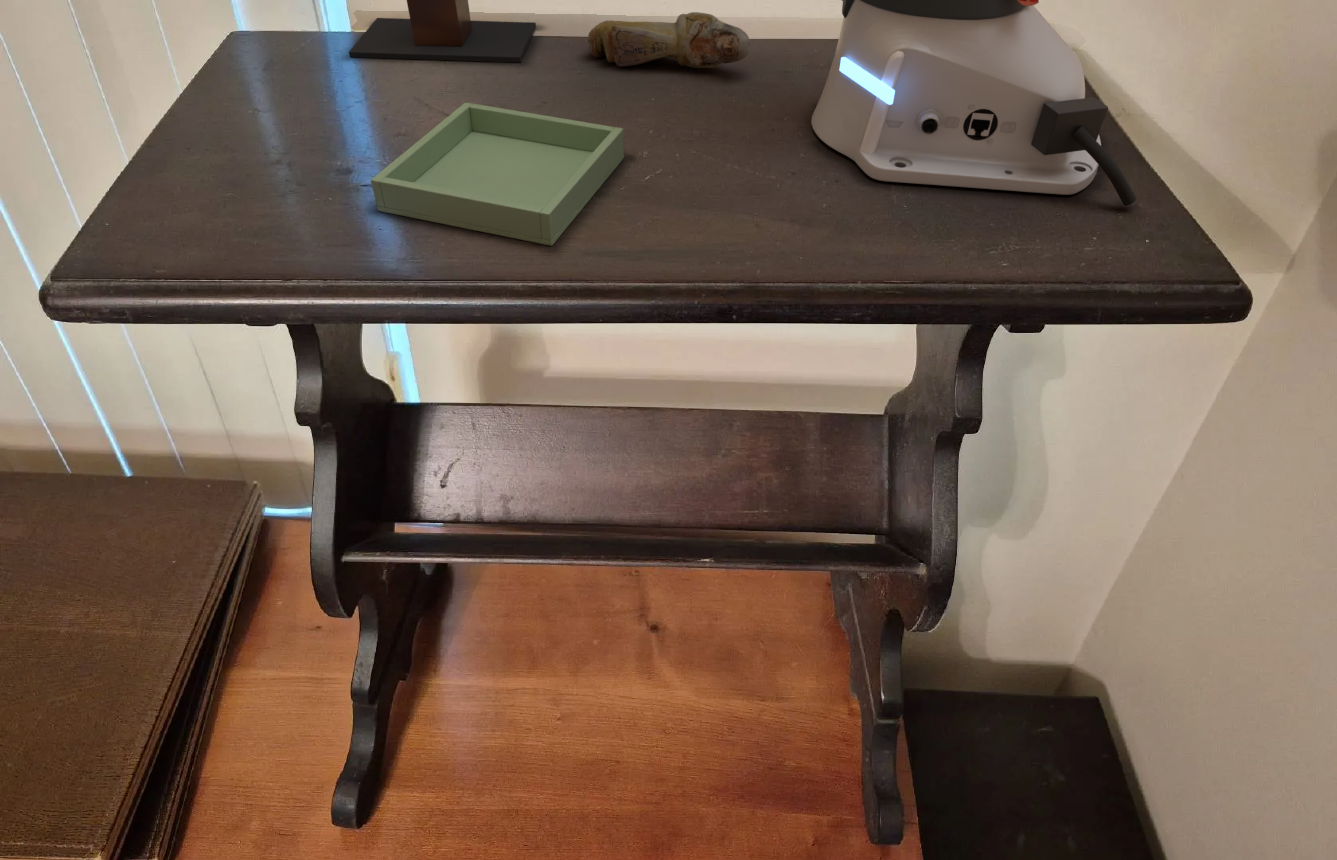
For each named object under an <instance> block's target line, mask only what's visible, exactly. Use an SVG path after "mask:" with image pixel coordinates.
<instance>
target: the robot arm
mask: <svg viewBox="0 0 1337 860" xmlns="http://www.w3.org/2000/svg"><path fill="white" fill-rule="evenodd" d="M841 2H842V5H841V6H842V7H841V15H842V16H843V17H842V18H843V19H842V24H841V28H840V33H839V37H838V41H837V44H836V47H835V50H834V51H835V52H834V55H833V59H832V62H831V66H830V69H829V72H828V75H827V78H826V81H825V84H824V87H823V89H822V93H821V95H820V97H819V100H818V102H817V104H816V106H815V108H814V110H813V112H812V115H811V119H810V120H811V121H810V122H811V123H810V124H811V127H812V130H813V131H814V133H815V134H816V136H817V137H818V138H819V139H820V140H821V141H822V142H823V143H825V145H827V146H828V147H830V148H831V149H833V150H835V151H836V152H838V153H840V154H842V155H844V156H846V157H848V158H849V159H850V160H852V161H853V162H854V163H856V165H857V166H858V167H859V169H860V170H862V171H863V173H864V174H866V175H867V176H868V177H870V178H871V179H873V180H876V181H881V182H891V183H904V184H915V185H916V184H917V185H932V186H942V187H943V186H944V187H957V188H972V189H983V190H995V191H996V190H998V191H1007V192H1008V191H1010V192H1011V191H1012V192H1023V193H1035V194H1036V193H1037V194H1050V195H1063V196H1065V195H1066V196H1068V195H1069V196H1070V195H1075V194H1077V193H1079V192H1081V191H1083V190H1084V189H1086V188H1087V187H1088V186H1089V185H1090V184H1091V183H1092V182H1093V180H1095V177H1096V175H1097V173H1098V170H1099V167H1100V168H1101V170H1102V171H1103V172H1104V174H1105V175H1106V177H1107V178H1108V179H1109V181H1110V183H1111V184H1112V187H1113V188H1114V190H1115V192H1116V193H1117V196H1118V197H1119V200H1120V201H1121V202H1122V204H1123V206H1125V207H1127V206H1130V205H1132V204H1133V203H1135V202H1136V201H1137V197H1136V195H1135V192H1134V191H1133V189H1132V188H1131V185H1130V184H1129V182H1128V179H1127V178H1126V176H1125V175H1124V173H1123V171H1122V170H1121V169H1120V166H1118V164H1117V163H1116V161H1115V160H1114V159H1113V158H1112V156H1111V155H1110V154H1109V153H1108V151H1106V149H1105V148H1104V147H1103V146H1102V141H1101V138H1100V132H1101V130H1102V127H1103V124H1104V121H1105V119H1106V116H1107V113H1108V110H1109V107H1108V106H1107V105H1106V104H1105V103H1103V102H1101V101H1100V100H1098V99H1097V98H1096V97H1094V96H1093V97H1086V85H1085V84H1086V82H1085V74H1084V69H1083V66H1082V64H1081V61H1080V59H1079V56H1078V55H1077V53H1076V52H1075V51H1074V50H1073V48H1071V46H1070V45H1069V44H1068V43H1067V42H1066V41H1065V40H1064V39H1063V37H1062V36H1061V35H1060V34H1059V33H1058V32H1057V30H1055V28H1054V27H1053V26H1052V24H1050V23H1049V21H1048V20H1047V19H1046V18H1045V17H1044V16H1043V15H1042V13H1041V12H1040V11H1039V10H1038V9H1037V7H1036V6H1035V5H1037V4H1039V2H1040V1H1039V0H841Z"/></svg>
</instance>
